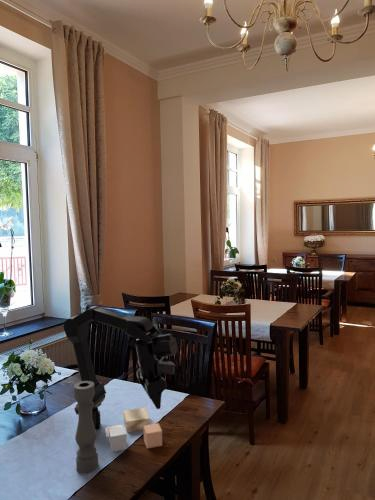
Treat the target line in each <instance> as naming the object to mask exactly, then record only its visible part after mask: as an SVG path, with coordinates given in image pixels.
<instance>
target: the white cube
mask: <svg viewBox="0 0 375 500" xmlns="http://www.w3.org/2000/svg"><path fill="white" fill-rule="evenodd" d="M127 436H128V435H127V431H126V427H125V425H122V426H121V427H115V428H110V429H109V437H108V440H109V442H108V445H109V448H110V449H109V450H110V453H112V452H118V451H123V450H127V449H128V441H127V439H128V438H127Z"/></svg>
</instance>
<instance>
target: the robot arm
mask: <svg viewBox="0 0 375 500" xmlns="http://www.w3.org/2000/svg"><path fill="white" fill-rule="evenodd" d="M94 321H96V322H98V323H101V324H104V325H108V326H111V327H113V328H117V329H120V330H122V331H123V332H124V333H125V334H126V335H128V336H130V337H132V339H131V341H130V342H129V343H128V345H129V346H130V347H131V346H135V349H136V356H137V364H138V365H139V366H138V367H139V368H137V370H136V372H135V373H136V378H137V381H138V382H139V383H140V385H141V386H142V388H143V389H144V392H146V394H147V396H148V399H150V400H151V402H152V403H153V405H154V407H155V408H156V410H160V409H161V405H162V394H163V392H164V391H165V390H166V389H167V388H168V385H167V384H168V383H167V381H166V380H165V378H164V377H162V374H168V375H174V374H175V369H176V368H175V367H176V364H175V362H173V361H170V360H169V359H168V357H171V356H172V357H173V356H176V354H177V352H178V343H177V341H176V338H175V337H173V333H166V334H162V333H161V332H160V330H159V329H157V328H156V326H154V325H153V322H152V320H151V319H150V318H148V317H146V316H140V315H139V316H136V315H135V316H129V315H125V314H122V313H118V312H115V311H112V310H109V309H107V308H106V309H105V308H102V307H100V306H98V305H94V306H91V307H88V308H87V309H86V310H84V311H82V312H81V313H79V314H77V315H75V316H73V317H70V318H67V319H66V320H65V321H64V323H63V326H62V328H63V331H64V333H65V335H66V338H67V339H68V340H69V341H70V343H72V345H73V346H72V347H73V349H74V355H75V360H76V364H77V367H78V371H79V372H78V373H79V375H80V379H81V381H80V382H82V381H92V382H94V392H95V394H94V397H93V399H92V402H93V403H94V407H93V408H92V419H93V423H94V426H95V429H96V431H97V430H100V429H101V428H100V426H101V411H100V410H99V407H100V406H102V403H103V402H104V400H105V398H106V394H107V391H106V388H105V383H104V382H103V381H102V382H100V381H98V379H97V376H96V373H95V368H94V364H93V359H92V354H91V350H90V346H89V342H88V341H89V340H88V336H89V332H90V326H89V324H91V322H94ZM157 357H161V358H160V360H159V359H158V358H157ZM74 412H75V414H76V415H78V410H76V406H75V407H74Z"/></svg>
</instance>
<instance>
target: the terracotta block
mask: <svg viewBox="0 0 375 500" xmlns="http://www.w3.org/2000/svg"><path fill="white" fill-rule="evenodd" d="M143 441H144V444H145V447H146V449H152V448H157V447H162V446H163V429H162V428H161V426H160V424H159V422H157V423H150V425H145V426H144V430H143Z"/></svg>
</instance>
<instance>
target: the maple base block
mask: <svg viewBox="0 0 375 500" xmlns="http://www.w3.org/2000/svg"><path fill="white" fill-rule="evenodd" d="M149 415H150V414H149V413H148V410H147V407H141V408H133V409H127V410H123V421H124V427H125V430H126V433H131V432H135V431H144V426H145V425H151V423H150V422H151V421H150V420H151V419H150V416H149Z"/></svg>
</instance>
